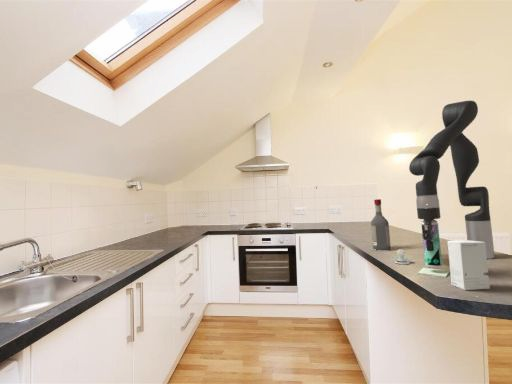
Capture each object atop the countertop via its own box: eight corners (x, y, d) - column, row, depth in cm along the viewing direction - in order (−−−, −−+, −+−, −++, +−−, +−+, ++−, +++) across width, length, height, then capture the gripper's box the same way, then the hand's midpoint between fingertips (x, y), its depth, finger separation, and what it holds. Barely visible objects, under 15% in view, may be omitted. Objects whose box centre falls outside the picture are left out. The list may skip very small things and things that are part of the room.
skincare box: (464, 290, 79) (459, 242, 80) (450, 284, 85) (445, 240, 86) (491, 289, 79) (486, 241, 80) (475, 283, 85) (470, 238, 86)
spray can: (426, 263, 104) (421, 214, 105) (442, 265, 100) (437, 214, 101) (424, 266, 99) (419, 215, 101) (441, 268, 96) (436, 215, 97)
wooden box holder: (433, 264, 112) (432, 252, 113) (460, 266, 106) (459, 254, 106) (428, 268, 105) (427, 256, 106) (457, 272, 99) (456, 259, 99)
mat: (423, 268, 106) (423, 267, 106) (449, 271, 100) (449, 270, 100) (417, 273, 100) (417, 272, 100) (446, 277, 93) (446, 275, 93)
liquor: (389, 248, 155) (385, 199, 156) (391, 250, 146) (386, 198, 148) (372, 247, 158) (368, 199, 160) (373, 250, 149) (369, 199, 151)
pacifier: (412, 265, 113) (410, 261, 119) (410, 251, 113) (408, 248, 119) (393, 264, 116) (392, 261, 122) (392, 251, 116) (391, 248, 122)
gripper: (421, 206, 109) (425, 246, 108) (412, 208, 99) (416, 251, 98) (442, 205, 104) (446, 247, 103) (435, 207, 93) (440, 253, 93)
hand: (432, 249), depth 100 cm, fingers closed on spray can, 5 cm apart
